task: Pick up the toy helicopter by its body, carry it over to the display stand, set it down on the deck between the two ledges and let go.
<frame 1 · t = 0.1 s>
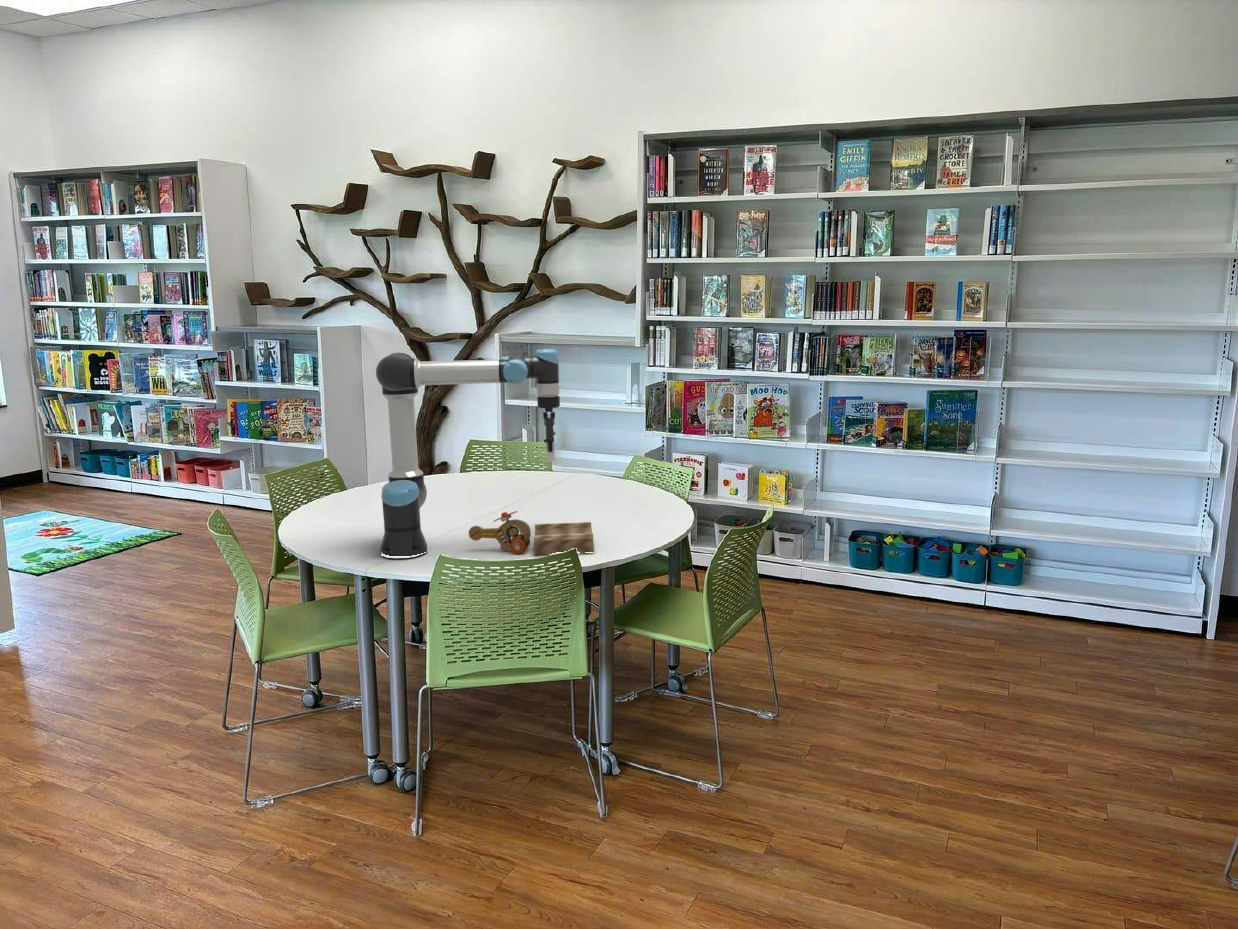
hand: (550, 457, 320), 28 cm above the table, tool pointing down, fingers open, 13 cm apart
toy helicopter: (503, 551, 309), on the table
display stand: (564, 548, 311), on the table
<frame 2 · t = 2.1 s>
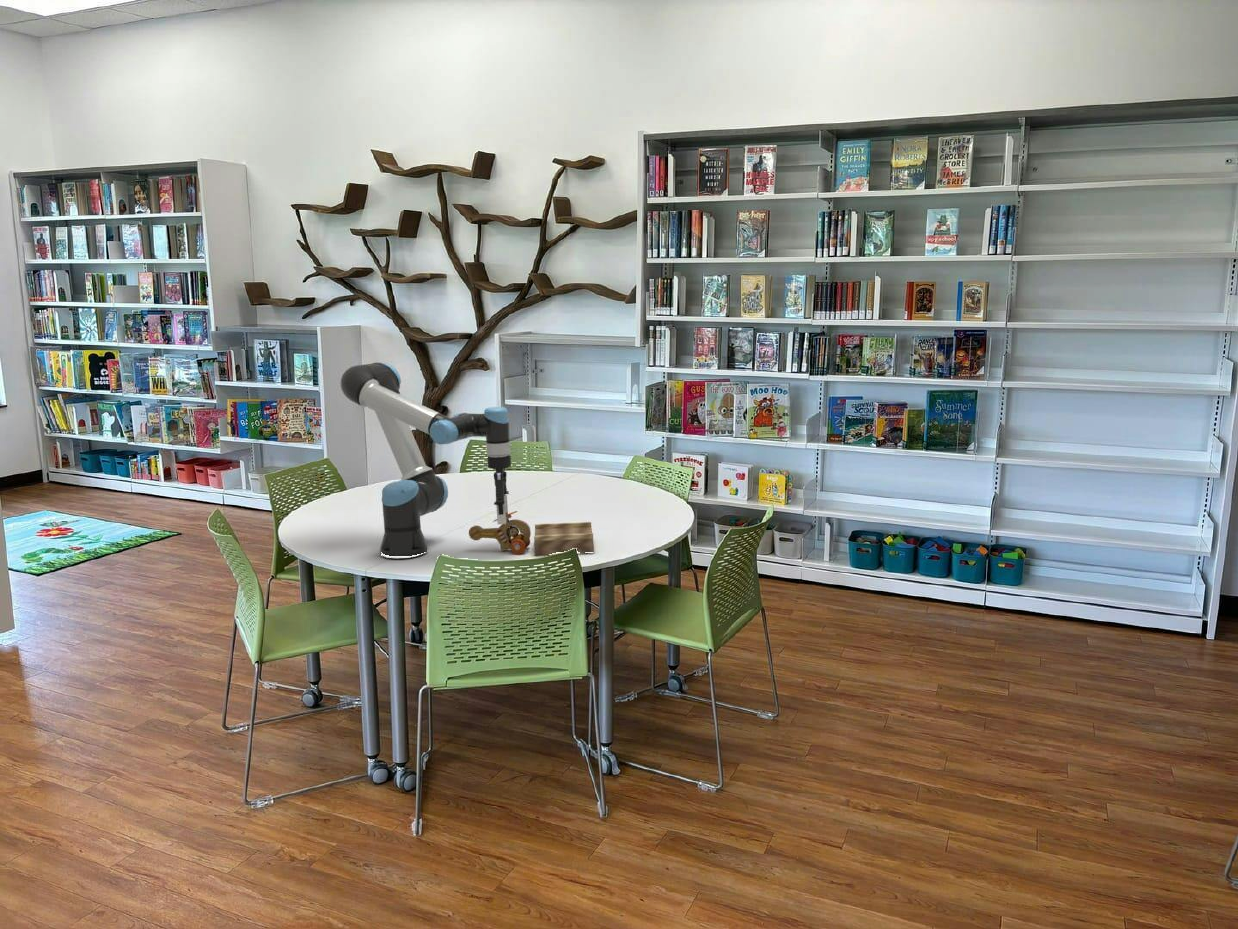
hand: (502, 519, 307), 11 cm above the table, tool pointing down, fingers open, 13 cm apart
nothing on the table moved.
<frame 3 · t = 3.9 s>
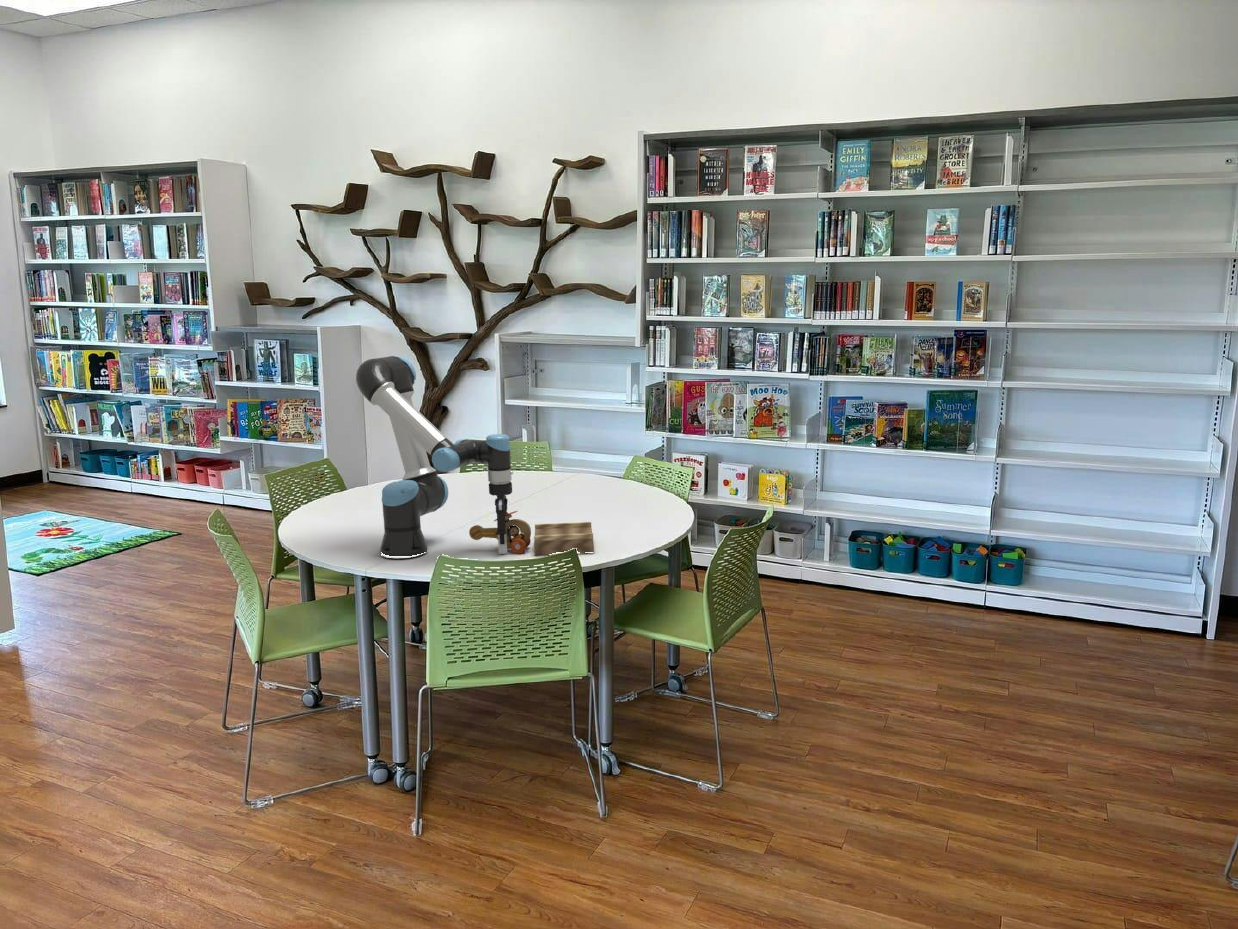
hand: (503, 549, 309), 0 cm above the table, tool pointing down, fingers closed on toy helicopter, 7 cm apart
toy helicopter: (503, 550, 310), on the table, touching gripper
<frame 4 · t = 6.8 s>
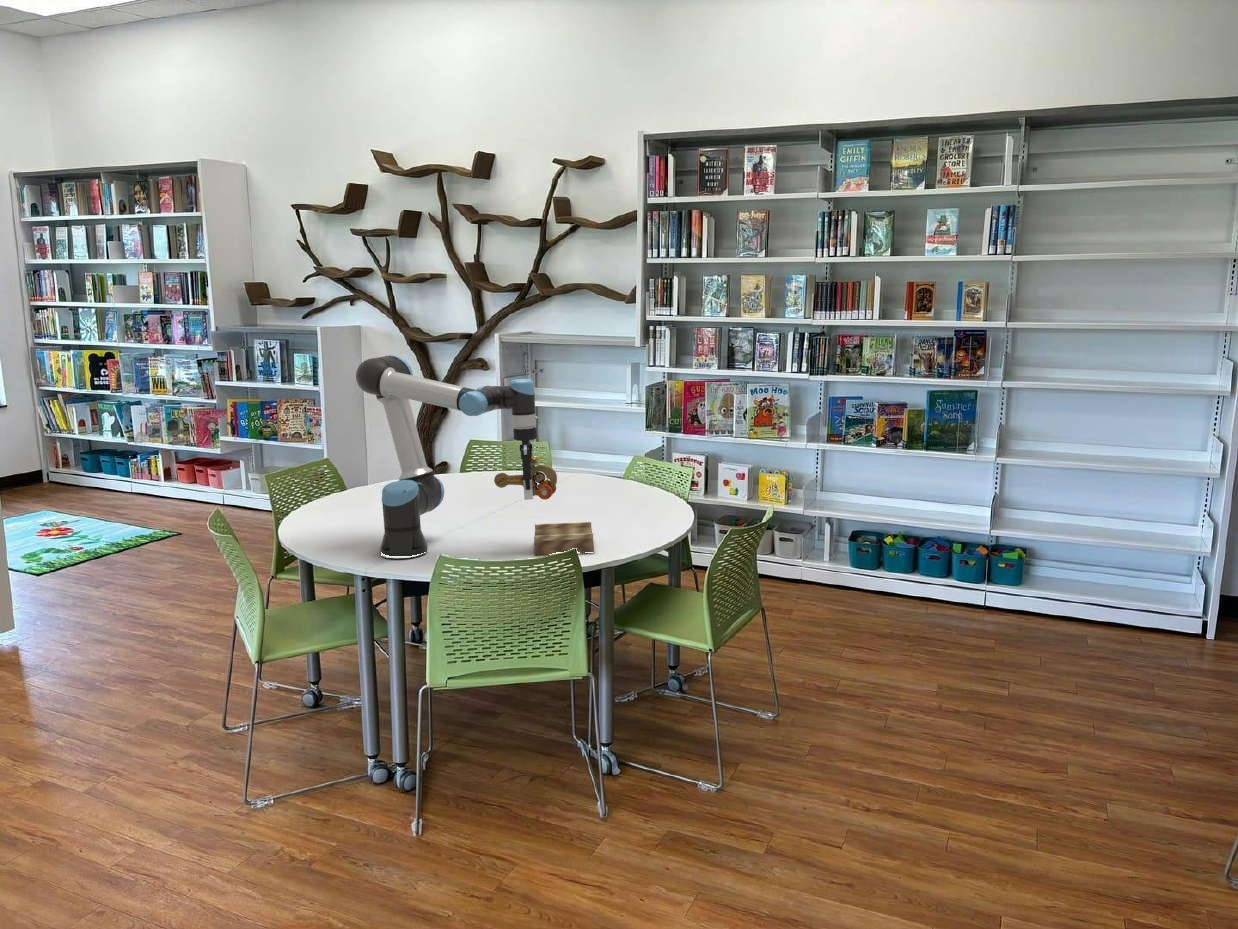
hand: (529, 496, 306), 18 cm above the table, tool pointing down, fingers closed on toy helicopter, 7 cm apart
toy helicopter: (529, 497, 307), point 17 cm above the table, touching gripper
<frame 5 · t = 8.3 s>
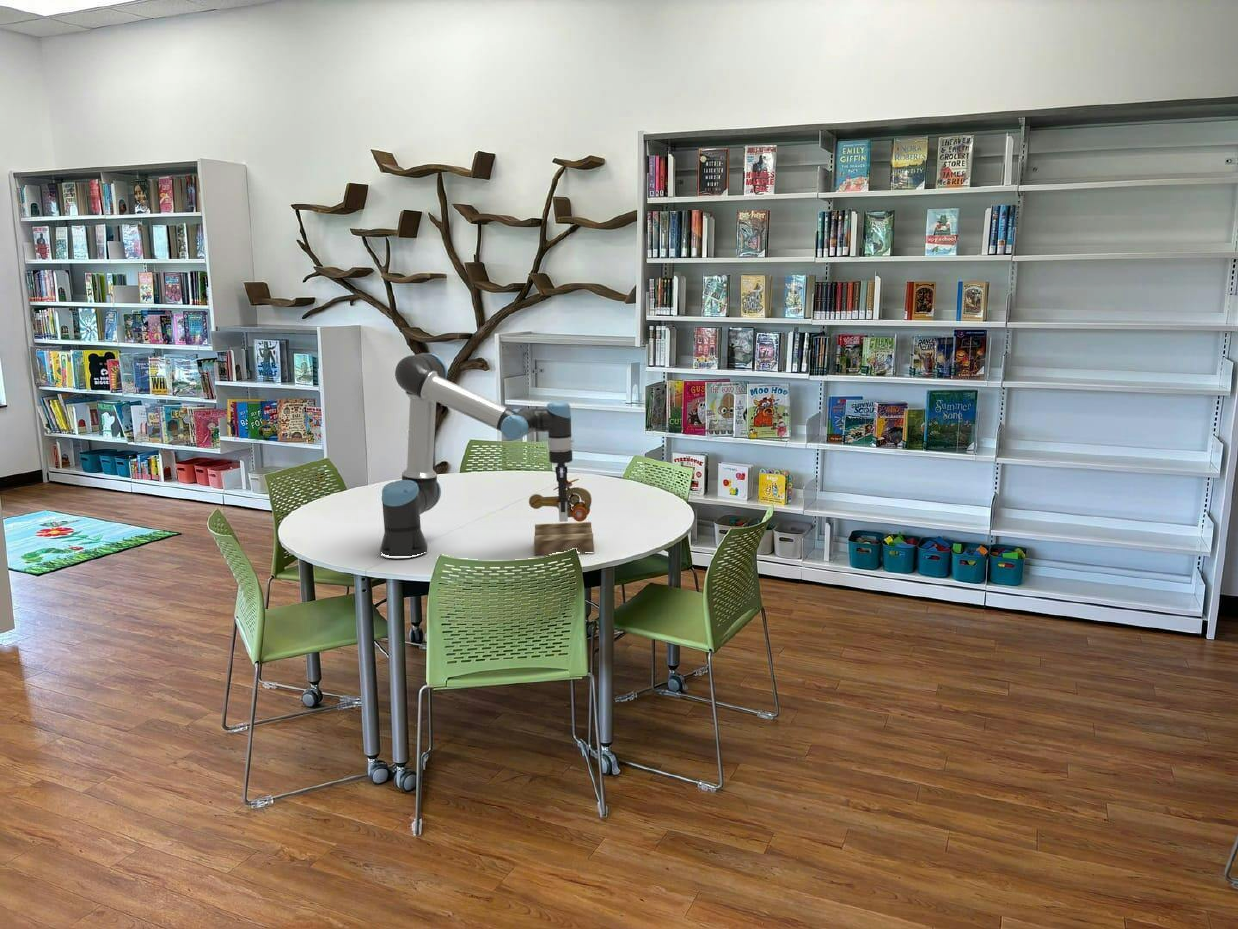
hand: (563, 518, 309), 10 cm above the table, tool pointing down, fingers closed on toy helicopter, 7 cm apart
toy helicopter: (563, 519, 309), point 10 cm above the table, touching gripper
when the fingers open (6 cm above the table, at t = 9.4 s): toy helicopter drops 1 cm, resting on display stand.
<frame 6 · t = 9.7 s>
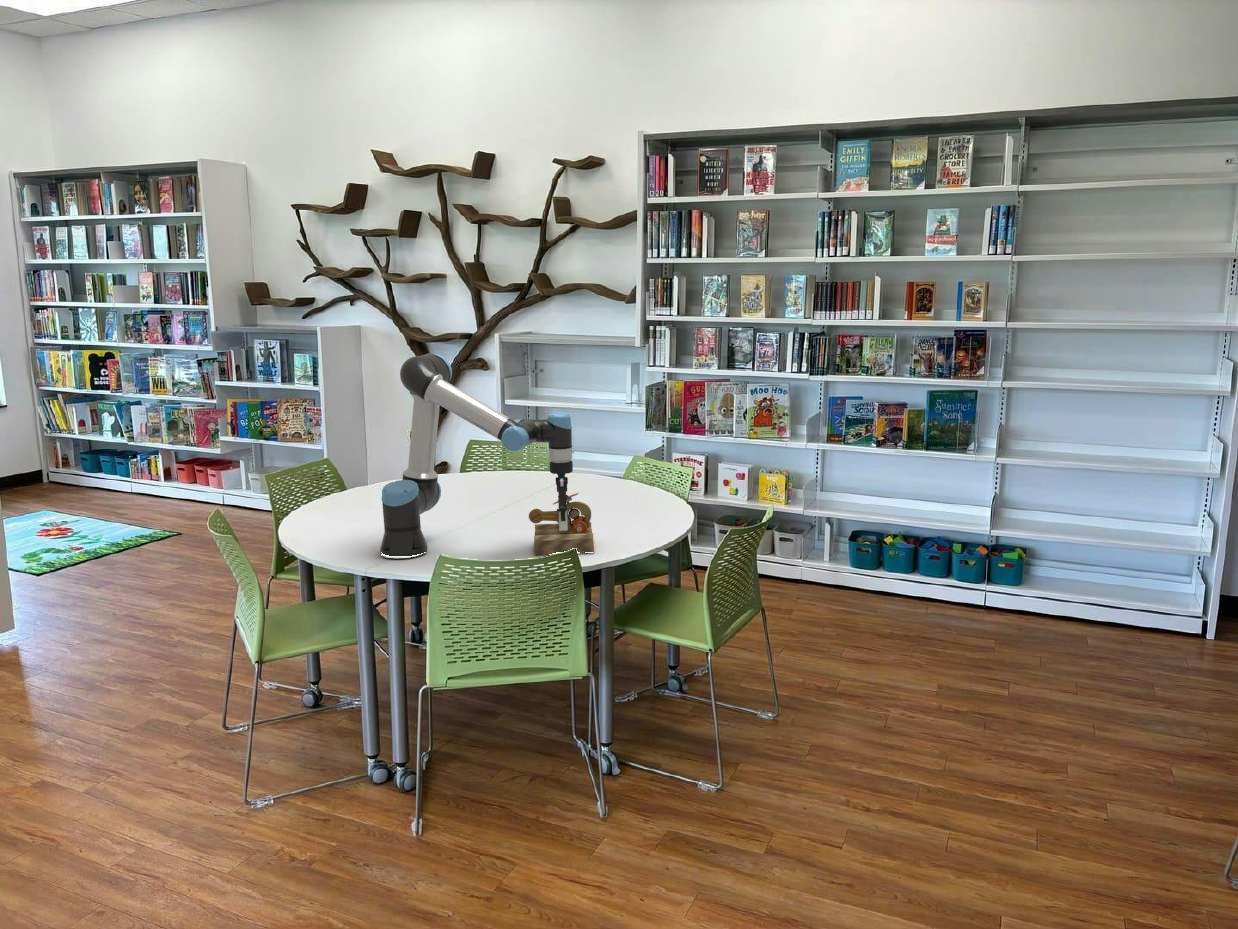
hand: (563, 525, 309), 8 cm above the table, tool pointing down, fingers open, 11 cm apart
toy helicopter: (563, 533, 310), point 5 cm above the table, touching display stand
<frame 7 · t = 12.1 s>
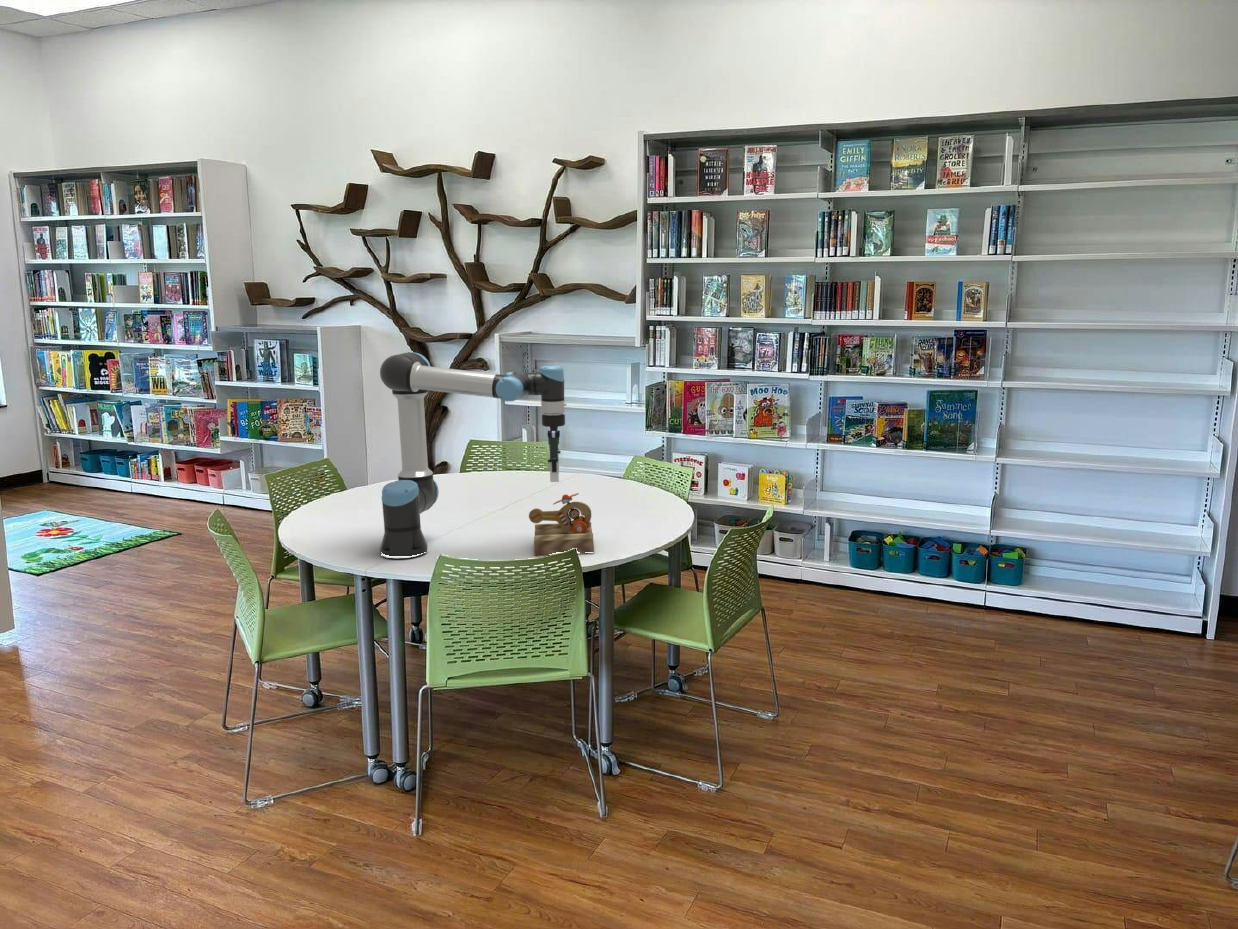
hand: (554, 477, 309), 23 cm above the table, tool pointing down, fingers open, 13 cm apart
nothing on the table moved.
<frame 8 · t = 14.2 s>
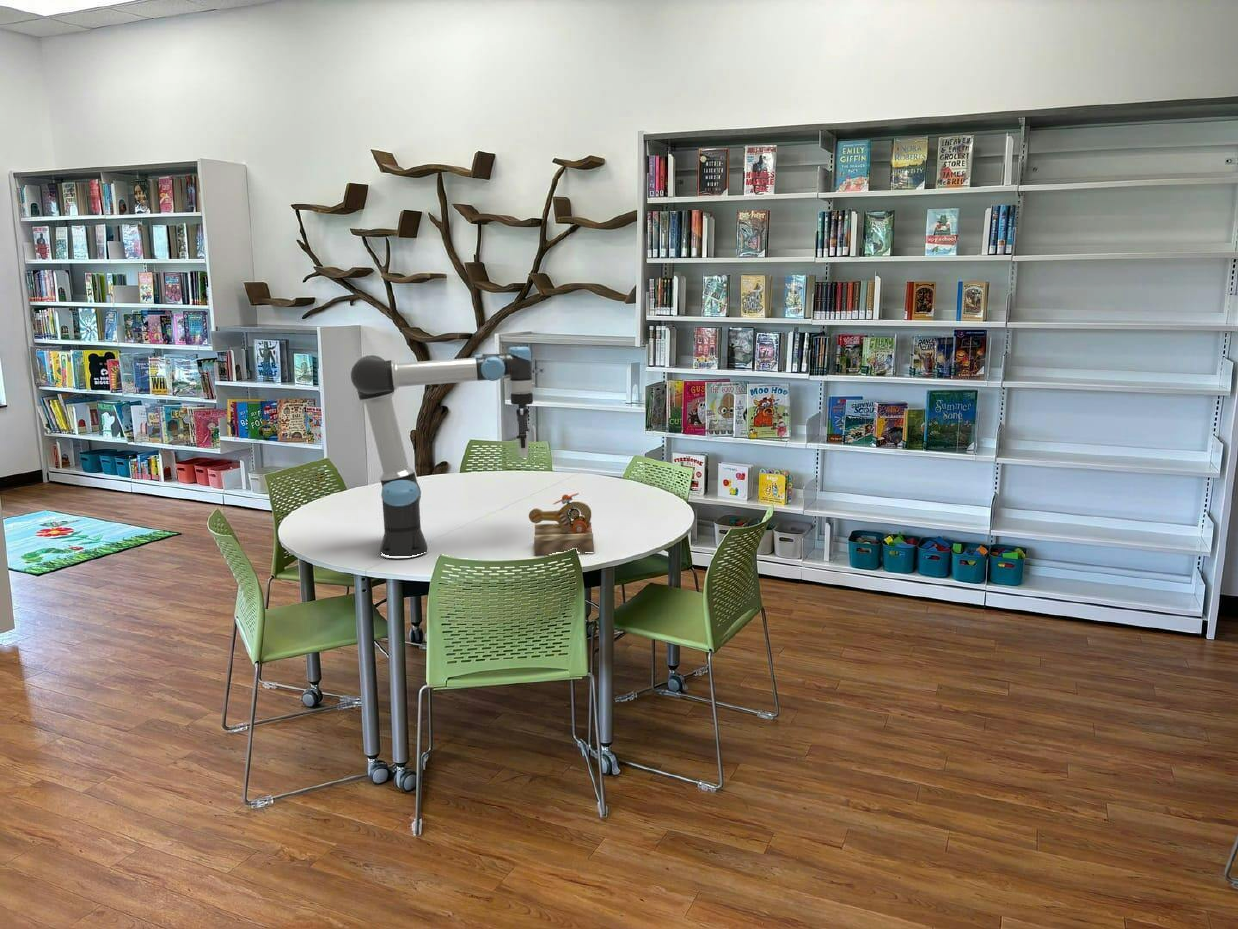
hand: (524, 453, 324), 29 cm above the table, tool pointing down, fingers open, 13 cm apart
nothing on the table moved.
at the end: toy helicopter inside the target area on the display stand (0.5 cm from its centre), point 4.8 cm above the display stand's base; toy helicopter tilted 0°; the gripper is holding nothing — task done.
